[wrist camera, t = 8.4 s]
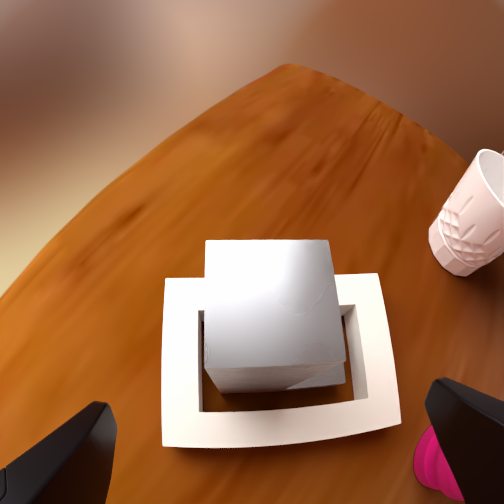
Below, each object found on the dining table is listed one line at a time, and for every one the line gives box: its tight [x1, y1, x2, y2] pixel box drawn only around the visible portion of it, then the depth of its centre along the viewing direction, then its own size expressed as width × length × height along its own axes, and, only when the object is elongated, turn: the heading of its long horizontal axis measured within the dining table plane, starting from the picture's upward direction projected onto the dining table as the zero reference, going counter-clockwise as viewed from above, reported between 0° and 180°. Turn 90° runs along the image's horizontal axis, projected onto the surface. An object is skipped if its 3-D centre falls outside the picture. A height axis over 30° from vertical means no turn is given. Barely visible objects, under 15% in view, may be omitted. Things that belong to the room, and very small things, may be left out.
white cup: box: [429, 149, 504, 277], centre depth 22 cm, size 8×8×10 cm
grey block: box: [204, 240, 346, 393], centre depth 15 cm, size 4×8×13 cm, turn 92°
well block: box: [162, 273, 401, 448], centre depth 20 cm, size 11×15×2 cm
